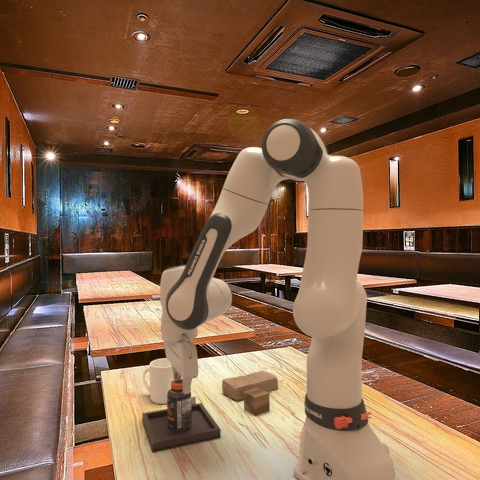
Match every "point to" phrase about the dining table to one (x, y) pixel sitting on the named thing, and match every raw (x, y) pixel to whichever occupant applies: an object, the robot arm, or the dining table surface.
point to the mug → (159, 380)
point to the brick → (249, 384)
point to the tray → (167, 439)
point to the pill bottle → (178, 407)
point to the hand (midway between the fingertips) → (181, 386)
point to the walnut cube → (256, 401)
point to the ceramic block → (193, 398)
